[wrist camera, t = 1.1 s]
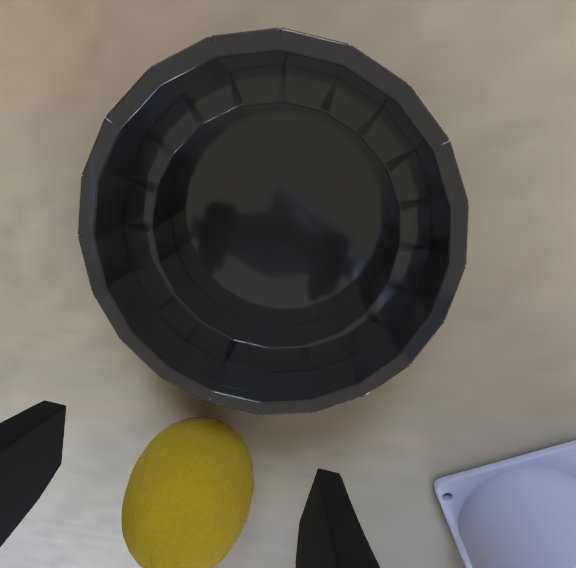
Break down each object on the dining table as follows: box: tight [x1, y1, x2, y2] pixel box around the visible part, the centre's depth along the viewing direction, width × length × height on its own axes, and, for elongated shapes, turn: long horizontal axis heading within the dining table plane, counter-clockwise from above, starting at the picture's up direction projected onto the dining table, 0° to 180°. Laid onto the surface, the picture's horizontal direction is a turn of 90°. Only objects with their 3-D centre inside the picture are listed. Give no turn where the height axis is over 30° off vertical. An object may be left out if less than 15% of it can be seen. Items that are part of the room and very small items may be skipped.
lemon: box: [122, 417, 254, 568], centre depth 19 cm, size 6×6×8 cm
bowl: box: [78, 28, 469, 415], centre depth 17 cm, size 13×13×5 cm
